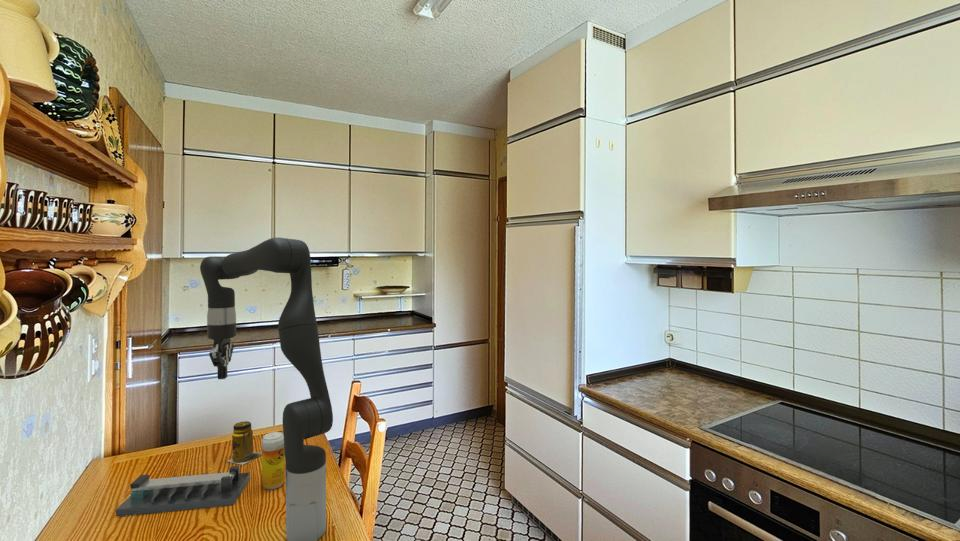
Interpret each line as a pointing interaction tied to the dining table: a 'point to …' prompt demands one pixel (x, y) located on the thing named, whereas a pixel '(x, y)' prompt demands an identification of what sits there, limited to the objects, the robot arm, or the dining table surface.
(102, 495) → the dining table surface
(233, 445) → the condiment
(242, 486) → the clamp base
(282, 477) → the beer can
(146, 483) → the bar
